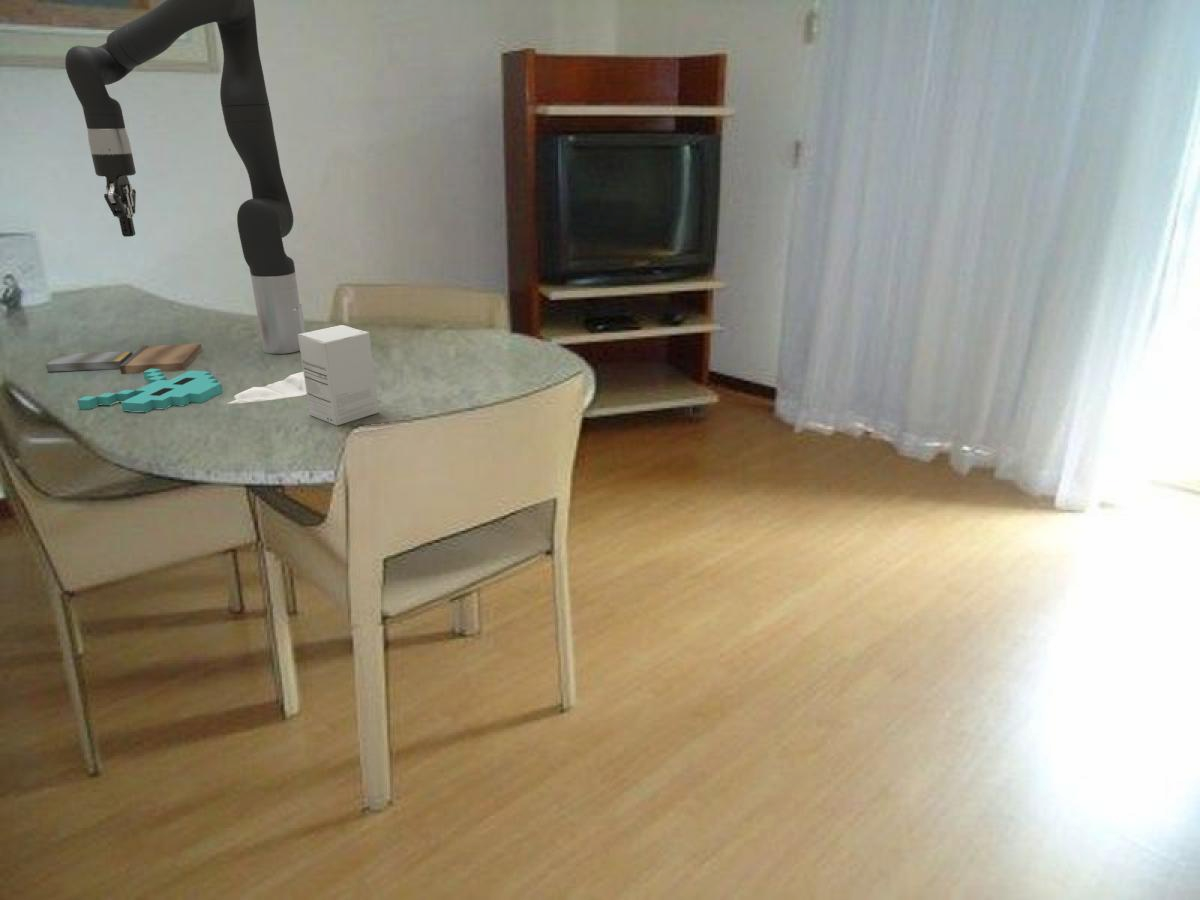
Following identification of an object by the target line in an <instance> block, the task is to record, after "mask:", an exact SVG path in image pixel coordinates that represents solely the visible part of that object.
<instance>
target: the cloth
mask: <svg viewBox="0 0 1200 900" xmlns="http://www.w3.org/2000/svg"><path fill="white" fill-rule="evenodd" d="M305 395H306V396H307V393H306V386H305V379H304V373H303V371H300V372H296V373H293V374H290V375H288V376H287V377H286V378H285V379H283V380H278V381H275V382H273V383H268V384H267V385H264V386H252V387H250V388H248V389H246V390H243V391H241V392H239V393H237V394H235V395H234V397H233V398H234V399H235V400H231V401H230V402H227V403H226V405H235V404H247V403H248V404H249V403H255V402H264V401H274V400H282V399H285V398H286V399H287V398H293V397H294V398H295V397H301V396H305Z"/></svg>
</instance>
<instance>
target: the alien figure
mask: <svg viewBox="0 0 1200 900" xmlns="http://www.w3.org/2000/svg"><path fill="white" fill-rule="evenodd" d="M142 374H143V377H144V379H145V378H146V379H145V380H146V383H147V382H149V383H147V384H146V385H144V386H142V387H140V388H137V389H136V390H135V389H133V390H132V389H123V390H121V391H118V392H116V393H115V392H104V393H102V394H100V395H98V396H94V395H93V396H91V395H89V396H88V395H85V396H83V397H80V398H78V399H76V400H77V403H78V409H79V408H80V409H79V410H87V409H91V408H93V407H95V406H97V405H99V404H102V405H110V404H112V403H114V402H116V401H123V402H121V403H120V404H121V408H122V411H123V410H129V411H143V412H146V411H148V410H150V409H152V408H163V409H165V408H167V407H168V406H170V405H185V404H187V403H189V402H199V403H198V404H203V403H204V401H205V402H206V400H207V401H208V399H209V400H210V399H213V398H214V397H216V396H218V395H219V394H221V393H223V387H222V382H219V381H218V379H217V378H215V375H214V374H211V371H206V370H205V371H203V370H189V371H186V372H184V373H181V374H180V375H177V376H175V377H173V378H171V379H168V380H167V376H166V375H165V376H164V372H161V370H160V369H148V370H146V371H144V372H143V373H142ZM217 394H218V395H217ZM215 395H216V396H215ZM213 396H214V397H213ZM202 402H203V403H202ZM189 404H190V403H189ZM187 405H188V404H187ZM185 406H186V405H185ZM97 407H98V406H97ZM83 408H84V409H83ZM95 408H96V407H95ZM93 409H94V408H93ZM167 409H168V408H167ZM91 410H92V409H91ZM165 410H166V409H165Z"/></svg>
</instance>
